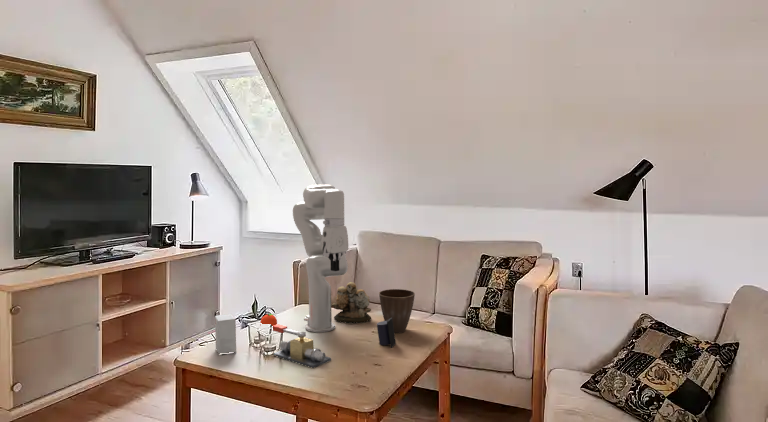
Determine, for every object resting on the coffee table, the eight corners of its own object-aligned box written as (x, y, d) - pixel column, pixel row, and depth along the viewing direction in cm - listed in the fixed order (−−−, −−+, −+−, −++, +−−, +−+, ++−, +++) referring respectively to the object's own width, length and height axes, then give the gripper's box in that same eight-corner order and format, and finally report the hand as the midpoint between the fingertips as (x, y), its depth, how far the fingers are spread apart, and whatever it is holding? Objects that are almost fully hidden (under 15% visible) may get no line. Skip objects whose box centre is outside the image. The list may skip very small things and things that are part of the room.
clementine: (271, 326, 228) (271, 310, 227) (282, 329, 224) (282, 313, 223) (256, 331, 222) (256, 314, 221) (268, 334, 218) (268, 317, 217)
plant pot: (414, 325, 229) (414, 289, 228) (415, 336, 214) (415, 297, 213) (379, 325, 230) (379, 288, 229) (378, 335, 215) (378, 297, 214)
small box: (236, 353, 195) (235, 318, 194) (218, 356, 192) (217, 321, 191) (232, 346, 202) (231, 313, 201) (215, 349, 199) (214, 315, 198)
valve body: (273, 355, 192) (273, 334, 192) (292, 349, 199) (291, 328, 199) (313, 368, 180) (312, 345, 179) (331, 360, 187) (330, 338, 187)
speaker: (400, 343, 204) (397, 317, 204) (391, 348, 200) (388, 321, 199) (385, 341, 209) (382, 315, 209) (376, 346, 205) (373, 319, 204)
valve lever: (278, 328, 199) (278, 324, 199) (307, 336, 189) (307, 331, 189) (272, 330, 196) (272, 325, 196) (301, 338, 187) (301, 333, 187)
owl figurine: (330, 323, 233) (329, 285, 232) (333, 316, 245) (333, 279, 244) (370, 323, 232) (370, 285, 231) (372, 316, 244) (372, 279, 243)
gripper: (326, 225, 192) (326, 274, 194) (355, 221, 203) (355, 269, 205) (312, 223, 197) (313, 272, 199) (342, 220, 208) (342, 266, 210)
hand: (334, 270), depth 202 cm, fingers closed
